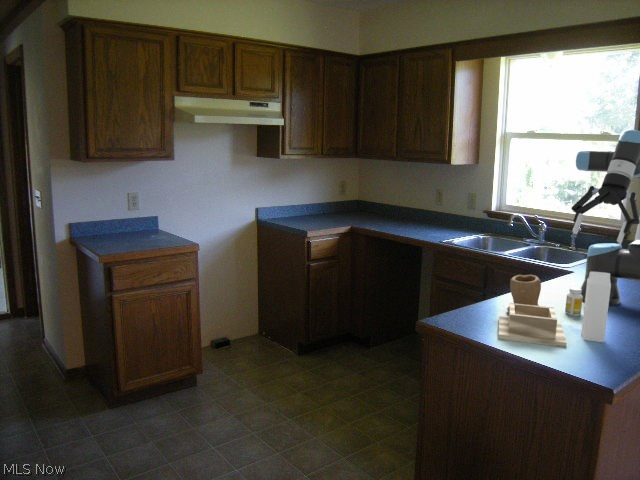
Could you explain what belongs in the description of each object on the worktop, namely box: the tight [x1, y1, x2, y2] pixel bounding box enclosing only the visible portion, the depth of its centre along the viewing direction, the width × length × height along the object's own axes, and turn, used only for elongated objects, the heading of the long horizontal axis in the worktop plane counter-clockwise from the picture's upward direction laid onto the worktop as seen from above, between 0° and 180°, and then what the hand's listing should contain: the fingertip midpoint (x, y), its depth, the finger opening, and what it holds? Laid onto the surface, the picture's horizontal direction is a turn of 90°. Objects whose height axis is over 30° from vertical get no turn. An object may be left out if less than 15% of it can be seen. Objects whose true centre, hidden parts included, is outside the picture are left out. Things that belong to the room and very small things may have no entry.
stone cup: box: [506, 274, 542, 313], centre depth 196 cm, size 15×12×15 cm
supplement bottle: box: [564, 286, 583, 317], centre depth 200 cm, size 5×5×10 cm
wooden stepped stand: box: [497, 302, 567, 348], centre depth 179 cm, size 20×20×8 cm
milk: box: [581, 272, 611, 343], centre depth 174 cm, size 6×6×22 cm
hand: (596, 237), depth 173 cm, fingers open, 13 cm apart
